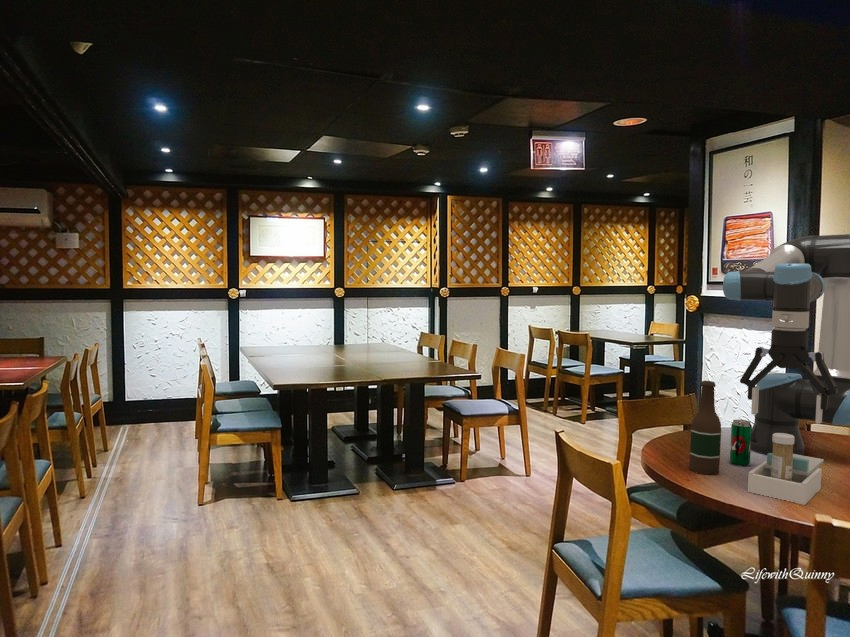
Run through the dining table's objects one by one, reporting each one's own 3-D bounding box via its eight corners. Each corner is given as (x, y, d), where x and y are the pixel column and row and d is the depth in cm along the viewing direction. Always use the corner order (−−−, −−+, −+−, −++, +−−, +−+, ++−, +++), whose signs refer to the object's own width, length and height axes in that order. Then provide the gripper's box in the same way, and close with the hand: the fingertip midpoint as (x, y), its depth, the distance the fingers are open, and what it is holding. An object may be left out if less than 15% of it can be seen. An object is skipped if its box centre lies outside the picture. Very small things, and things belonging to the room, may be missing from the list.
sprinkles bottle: (794, 493, 149) (797, 437, 148) (774, 492, 150) (776, 436, 149) (787, 487, 153) (790, 432, 152) (767, 486, 154) (769, 431, 153)
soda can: (753, 466, 173) (755, 423, 172) (734, 466, 173) (736, 422, 172) (745, 461, 178) (747, 419, 177) (726, 460, 178) (728, 418, 177)
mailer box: (767, 477, 163) (767, 458, 163) (820, 488, 155) (821, 469, 155) (747, 492, 152) (748, 472, 151) (804, 505, 144) (805, 483, 143)
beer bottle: (725, 471, 168) (729, 382, 166) (712, 477, 163) (716, 385, 161) (696, 464, 174) (700, 378, 172) (683, 470, 169) (686, 380, 167)
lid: (781, 454, 168) (782, 442, 168) (823, 462, 162) (824, 449, 162) (764, 467, 157) (764, 453, 156) (808, 476, 150) (809, 462, 150)
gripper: (728, 326, 154) (725, 412, 156) (849, 334, 137) (844, 430, 139) (738, 324, 160) (735, 407, 162) (856, 331, 143) (851, 424, 145)
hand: (785, 418), depth 150 cm, fingers open, 13 cm apart
